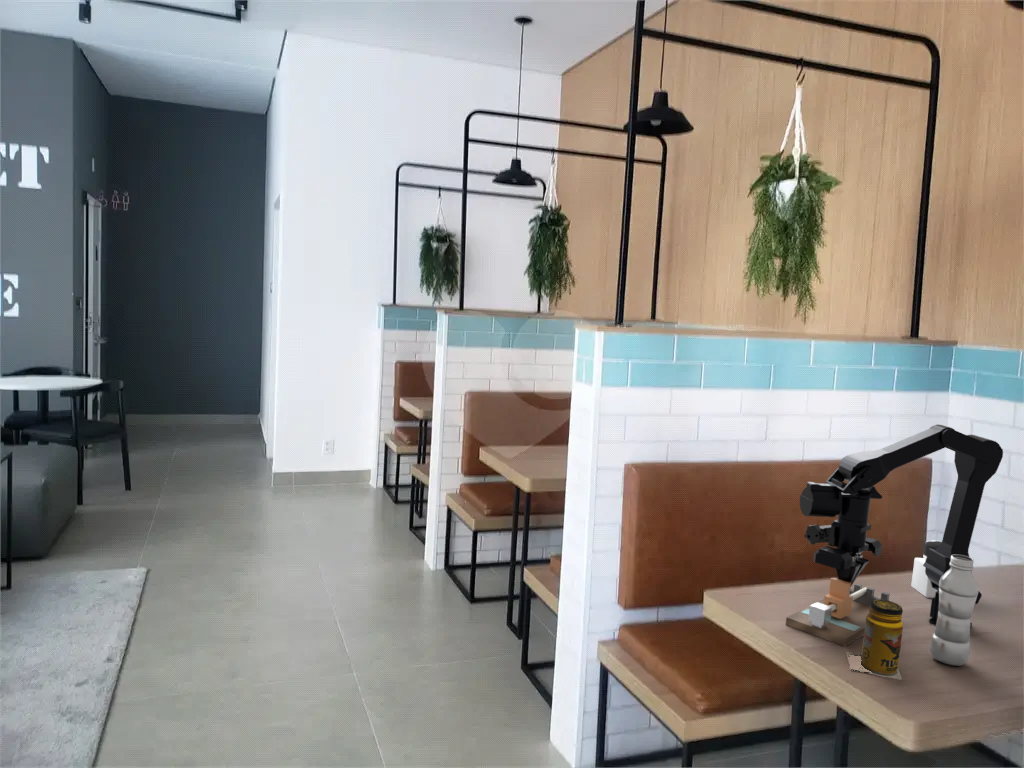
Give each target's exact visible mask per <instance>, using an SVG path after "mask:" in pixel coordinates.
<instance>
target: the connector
mask: <svg viewBox="0 0 1024 768" xmlns="http://www.w3.org/2000/svg"><path fill="white" fill-rule="evenodd" d="M818 602H819V601H817V602H815V603H812V604H811V605H809V606H810V611H809V619H808V620H809V621H812V626H815V627H817V628H820V629H822V628H824V627H826V624H827V623H829V622H830V619H831V610H832V607H830V606H827V605H824V604H821V603H818Z"/></svg>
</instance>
